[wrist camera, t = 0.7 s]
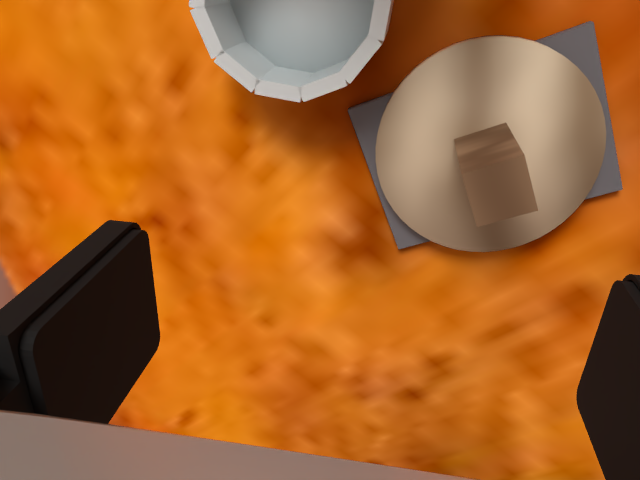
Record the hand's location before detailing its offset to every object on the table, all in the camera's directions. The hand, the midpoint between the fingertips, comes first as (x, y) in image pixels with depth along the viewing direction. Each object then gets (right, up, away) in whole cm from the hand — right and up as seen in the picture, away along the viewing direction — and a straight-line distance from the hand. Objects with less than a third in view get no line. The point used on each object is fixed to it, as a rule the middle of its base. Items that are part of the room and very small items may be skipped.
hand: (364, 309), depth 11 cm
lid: (+9, +7, +21) cm, 24 cm away
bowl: (-2, +16, +20) cm, 25 cm away
